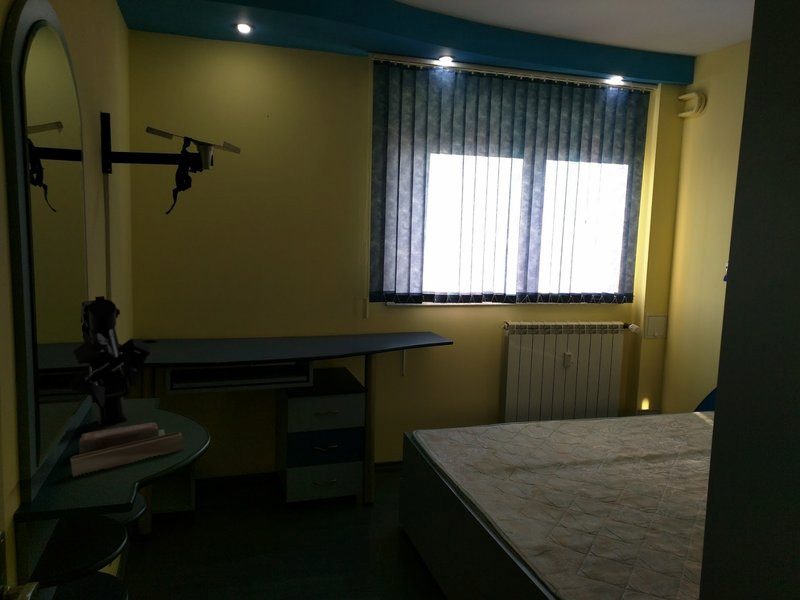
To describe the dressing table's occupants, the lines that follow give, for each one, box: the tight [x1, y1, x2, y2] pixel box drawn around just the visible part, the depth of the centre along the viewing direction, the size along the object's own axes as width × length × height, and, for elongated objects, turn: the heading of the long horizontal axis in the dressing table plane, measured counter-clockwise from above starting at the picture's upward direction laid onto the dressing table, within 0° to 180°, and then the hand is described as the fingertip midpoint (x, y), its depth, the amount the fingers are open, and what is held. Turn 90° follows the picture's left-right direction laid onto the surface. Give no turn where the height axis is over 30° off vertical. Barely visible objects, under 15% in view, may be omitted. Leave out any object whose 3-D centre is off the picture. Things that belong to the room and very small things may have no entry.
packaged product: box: [78, 422, 166, 455], centre depth 135 cm, size 18×5×10 cm
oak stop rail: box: [69, 431, 185, 478], centre depth 127 cm, size 2×22×4 cm, turn 122°
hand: (117, 396), depth 134 cm, fingers open, 9 cm apart
